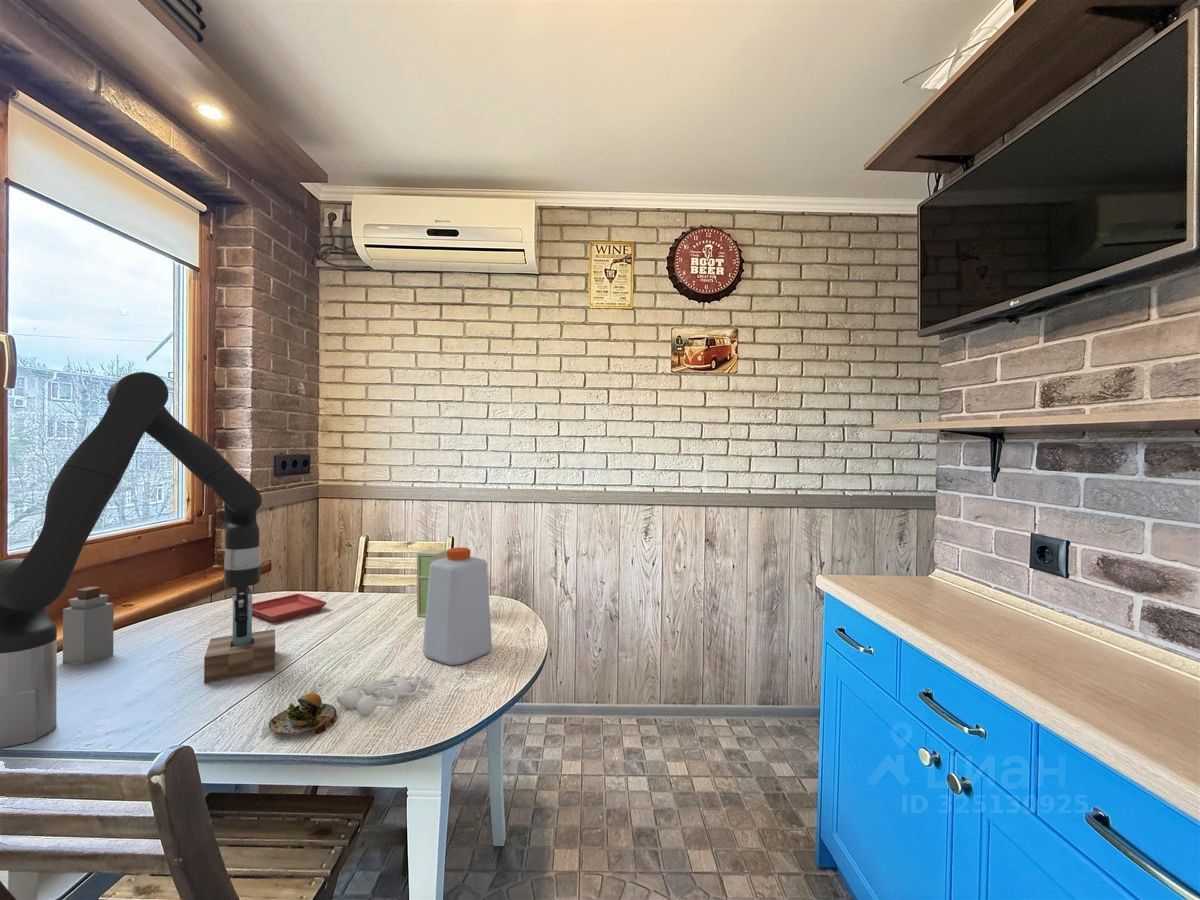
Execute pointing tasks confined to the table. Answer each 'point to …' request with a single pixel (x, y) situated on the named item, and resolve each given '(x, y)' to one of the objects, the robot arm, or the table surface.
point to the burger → (304, 716)
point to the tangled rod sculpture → (368, 702)
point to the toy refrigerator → (425, 576)
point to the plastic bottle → (457, 609)
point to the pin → (248, 638)
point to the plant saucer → (286, 607)
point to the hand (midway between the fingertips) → (242, 633)
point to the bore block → (239, 657)
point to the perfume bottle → (88, 627)
